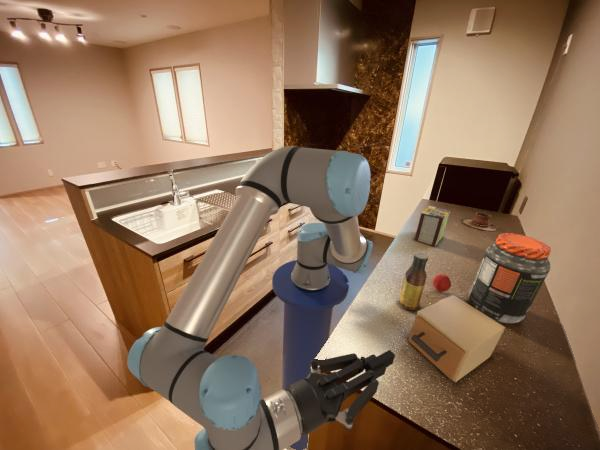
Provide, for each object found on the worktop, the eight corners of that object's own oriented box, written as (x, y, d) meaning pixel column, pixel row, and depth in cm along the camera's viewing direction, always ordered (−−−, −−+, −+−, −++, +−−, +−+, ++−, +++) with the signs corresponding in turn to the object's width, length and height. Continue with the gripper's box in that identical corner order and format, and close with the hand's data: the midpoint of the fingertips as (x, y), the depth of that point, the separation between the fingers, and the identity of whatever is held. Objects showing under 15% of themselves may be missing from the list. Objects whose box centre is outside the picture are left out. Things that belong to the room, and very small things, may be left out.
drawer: (439, 388, 57) (451, 362, 54) (397, 346, 67) (404, 322, 64) (484, 356, 66) (496, 331, 62) (440, 323, 76) (448, 300, 72)
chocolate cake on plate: (471, 217, 165) (475, 207, 162) (502, 227, 152) (506, 217, 149) (457, 222, 156) (461, 211, 153) (488, 233, 143) (493, 222, 140)
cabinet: (455, 382, 60) (469, 351, 55) (408, 339, 71) (417, 311, 66) (490, 356, 67) (505, 327, 62) (442, 321, 78) (452, 294, 73)
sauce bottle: (407, 296, 88) (421, 248, 80) (422, 308, 83) (438, 257, 75) (393, 301, 85) (406, 251, 77) (408, 313, 80) (423, 262, 72)
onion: (430, 284, 95) (436, 267, 92) (447, 289, 93) (453, 271, 90) (430, 293, 90) (436, 275, 87) (448, 298, 88) (455, 280, 85)
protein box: (442, 237, 135) (450, 210, 129) (435, 246, 124) (443, 218, 118) (422, 231, 141) (429, 205, 135) (413, 239, 130) (420, 212, 124)
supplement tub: (513, 301, 88) (546, 237, 78) (530, 333, 75) (572, 260, 65) (463, 288, 94) (487, 226, 84) (470, 315, 81) (500, 246, 70)
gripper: (314, 440, 36) (421, 371, 46) (278, 365, 46) (372, 322, 57) (311, 466, 39) (412, 395, 49) (277, 390, 49) (367, 345, 60)
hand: (391, 356), depth 53 cm, fingers closed
